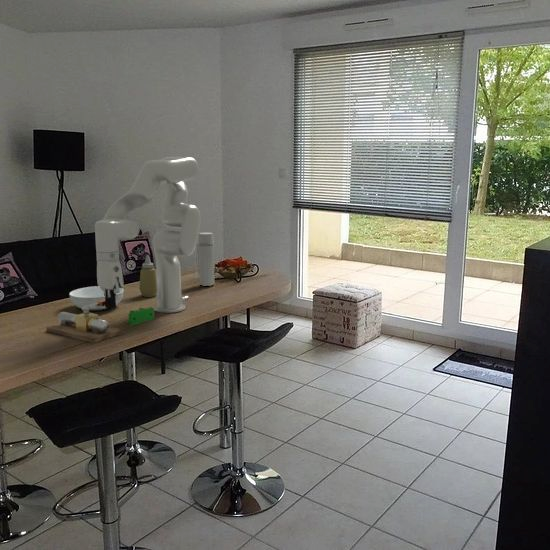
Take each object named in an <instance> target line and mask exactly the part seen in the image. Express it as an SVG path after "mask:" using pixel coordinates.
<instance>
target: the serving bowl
mask: <svg viewBox="0 0 550 550" xmlns="http://www.w3.org/2000/svg"><path fill="white" fill-rule="evenodd" d="M119 290H120V293H116V296H115V297H116V305H118V304H119V303H120V302H121V300H122V299H123V297H124V291H125V290H124V288H119ZM68 295H69V299H70V301H71V303H72V304H73V305H74V306H76V307H77V308H78V309H82V306H85V305H91V304H94V303H97V301H100V300H103V299H105V296H104V291H103V290H102V289H101V288H100V286H99V285H97V286H96V285H95V286H87V287H82V288H81V287H80V288H77V289H73V290H72V291H70V292H69V294H68ZM103 309H104V310H107V309H108V308H106V306H102V307H101V306H99V307H95V308H92V309H90V310H89V311H103Z"/></svg>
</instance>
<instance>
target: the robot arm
mask: <svg viewBox="0 0 550 550" xmlns="http://www.w3.org/2000/svg"><path fill="white" fill-rule="evenodd" d="M199 166H200V165H199V163H198V162H197V160H196V159H195V158H194V157H189V156H166V157H163V158H161V159H153V160H147V161H145V163H144V164H143V166H142V168H141V169H140V171H139V172H138V175H137V177H136V178H135V180H134V182H133V183H132V186H131V188H130V189H129V190H128V191H127V192H125V193H124V194H123V195H122V196H120V197H119V198H118V199H116V200H115V201H113V203H112V204H110V206H109V208H107V211H106V213H105V214H104V216H103V218H102V219H101V220H98V221H96V222H95V224H94V233H95V238H94V239H95V250H96V253H95V254H96V280H97V286H100V288H101V289H102V290H103V291H104V296H105V306H106V308H107V309H108V310H109V309H113V308H116V307H117V304H116V297H115V296H116V293H120V290H119V288H122V289H124V275H123V269H122V264H121V260H120V250H119V249H120V247H119V246H120V245H119V241H120V240H123V241H124V240H125V241H126V240H127V241H128V240H133V239H135V238H136V237H138V236H139V234H140V230H141V229H140V224H139V223H138V222H137V221H136V220H135V219H132V218H128V217H126V216H127V215H128V214H129V213H131V212H134V211H135V210H137V209H140V208H143V207H146V206H147V205H149V204H151V202H152V200H153V199H154V197H155V195H156V193H157V190H158V189H159V187H160V185H161V184H164V185H165V188H166V190H165V191H166V192H165V197H164V203H163V209H162V213H161V222H162V224H163V225H164V226H165V227H168V228H173V229H180V231H179V230H171V229H169V230H168V229H167V230H166V229H164V230H163V229H162V230H159V231H156V233H155V234H154V235H153V237H152V249H153V252H154V258H155V269H156V278H157V293H156V299H157V300H156V301H157V303H156V304H155V305H154V306H153V308H154V312H158V313H163V314H166V313H167V314H169V313H179V312H182V311H185V310H186V305H185V304H184V302H186V301H189V300H190V297H189V296H188V295H185V296H184V295H183V296H182V274H181V273H182V272H181V263H180V262H181V261H180V258H178V257H190V256H191V255H193V254H194V252H195V249H196V247H197V244H198V242H197V241H198V239H199V233H200V232H199V231H200V227H201V223H202V222H201V221H202V215H201V212H200V209H199V208H198V207H197V206H196V205H194V204H191V203H190V204H188V197H189V190H188V188H187V184H186V183H185V182H187V181H188V182H189V181H191V180H193V179H195V178H197V175H198V174H199V170H200V168H199Z"/></svg>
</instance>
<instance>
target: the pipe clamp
mask: <svg viewBox="0 0 550 550" xmlns="http://www.w3.org/2000/svg"><path fill="white" fill-rule="evenodd" d="M148 320H149V321H152V320H155V311H154V306H153V307H148V308H143V307H139V309H138V310H133V309H131V310H130V311H129V313H128V325H129V326H135V325H138V324H141V323H145V322H149V321H148Z"/></svg>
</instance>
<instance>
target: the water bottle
mask: <svg viewBox="0 0 550 550" xmlns="http://www.w3.org/2000/svg"><path fill="white" fill-rule="evenodd" d="M197 241H198V242H197V243H196V247H197V250H196V255H197V257H196V259H195V260H196V261H195V270H194V271H195V275H196V276H198V277H199V280H198V281H199V286H200V285H203V286H206V285H213V284H214V285H215V245H214V244H215V239H214V233H213V232H199V233H198V240H197ZM197 262H198V263H197ZM197 264H198V265H197ZM197 267H198V273H197Z"/></svg>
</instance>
